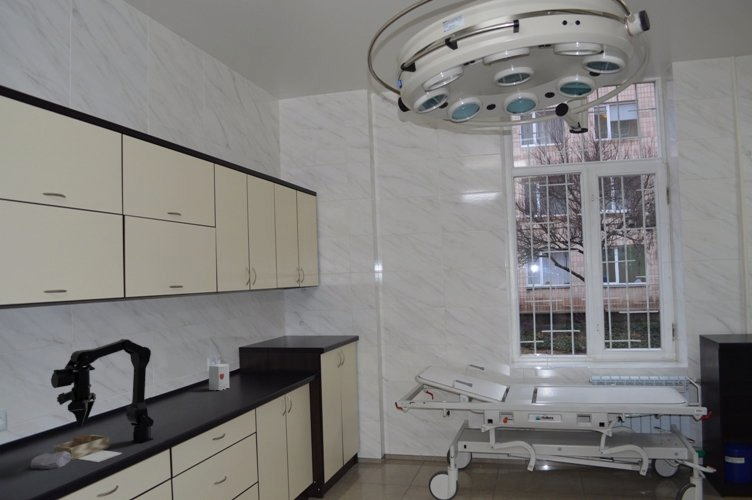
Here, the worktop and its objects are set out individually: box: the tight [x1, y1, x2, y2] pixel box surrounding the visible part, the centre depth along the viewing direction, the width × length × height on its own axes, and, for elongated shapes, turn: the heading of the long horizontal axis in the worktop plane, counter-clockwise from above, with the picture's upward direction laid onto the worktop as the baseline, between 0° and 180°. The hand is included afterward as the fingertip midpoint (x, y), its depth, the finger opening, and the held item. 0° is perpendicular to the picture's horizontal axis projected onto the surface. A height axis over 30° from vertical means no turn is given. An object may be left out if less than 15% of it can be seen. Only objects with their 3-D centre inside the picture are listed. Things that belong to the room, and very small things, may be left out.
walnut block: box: [72, 434, 91, 447], centre depth 228 cm, size 4×5×4 cm
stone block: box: [30, 451, 72, 470], centre depth 214 cm, size 12×5×10 cm
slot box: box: [53, 434, 110, 462], centre depth 228 cm, size 17×10×4 cm, turn 155°
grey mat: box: [77, 450, 123, 463], centre depth 222 cm, size 11×11×1 cm
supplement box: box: [208, 363, 230, 391], centre depth 355 cm, size 9×9×15 cm
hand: (82, 423), depth 223 cm, fingers open, 9 cm apart
